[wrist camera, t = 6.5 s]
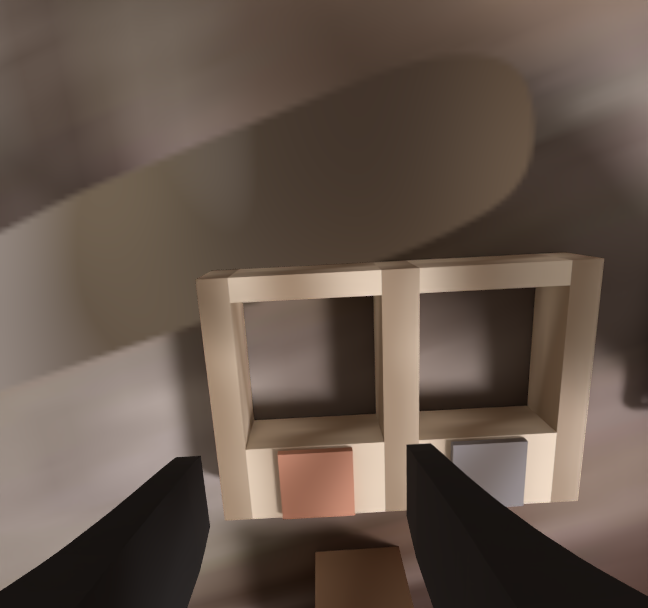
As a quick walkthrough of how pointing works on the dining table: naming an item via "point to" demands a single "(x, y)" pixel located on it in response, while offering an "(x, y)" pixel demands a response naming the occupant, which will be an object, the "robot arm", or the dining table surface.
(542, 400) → the slot rack
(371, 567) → the brown rectangular block
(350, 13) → the dining table surface
